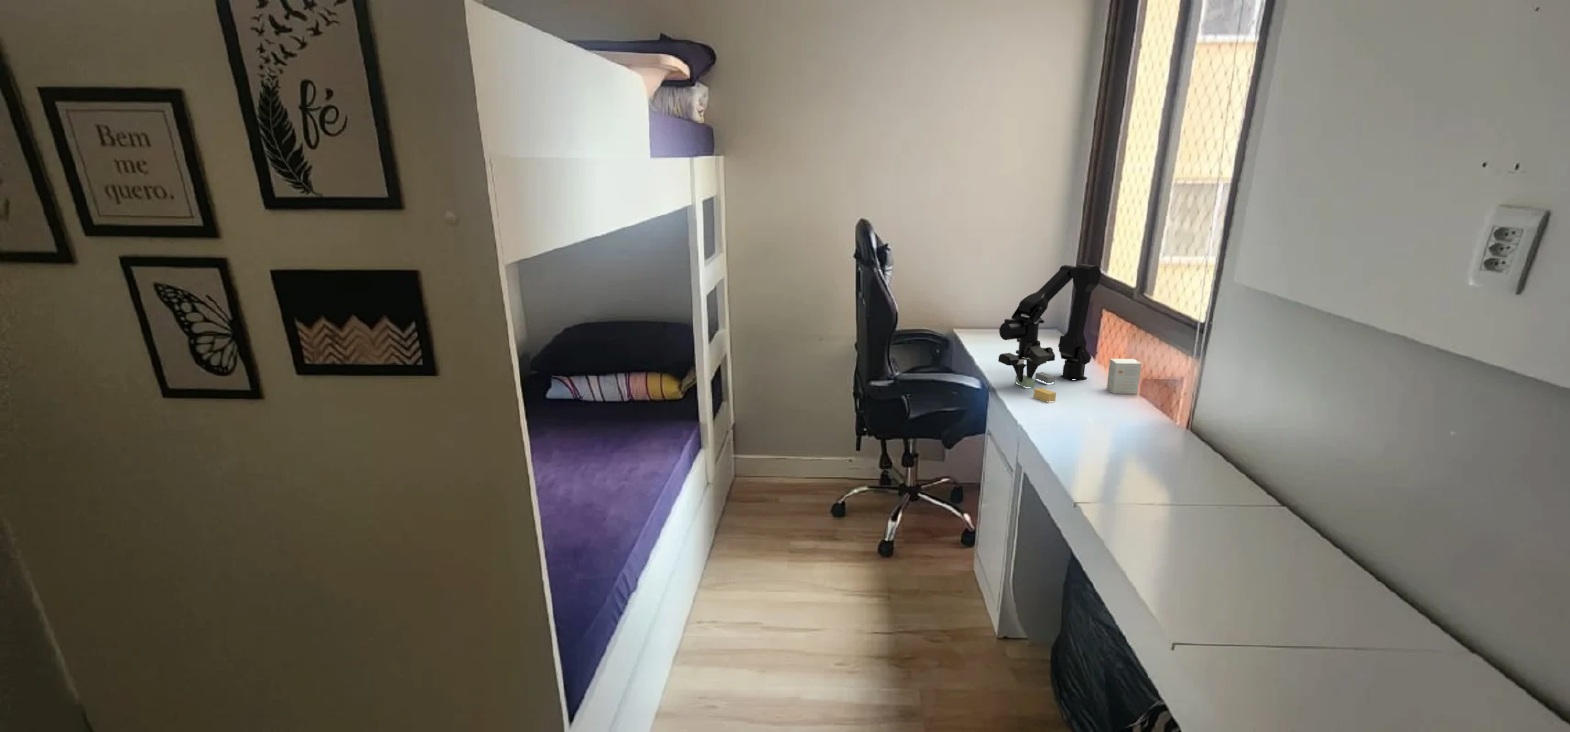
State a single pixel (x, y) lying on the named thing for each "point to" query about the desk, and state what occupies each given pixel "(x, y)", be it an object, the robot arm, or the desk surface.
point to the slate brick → (1045, 377)
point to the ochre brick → (1044, 394)
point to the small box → (1123, 376)
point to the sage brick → (1025, 381)
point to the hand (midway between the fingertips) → (1024, 381)
